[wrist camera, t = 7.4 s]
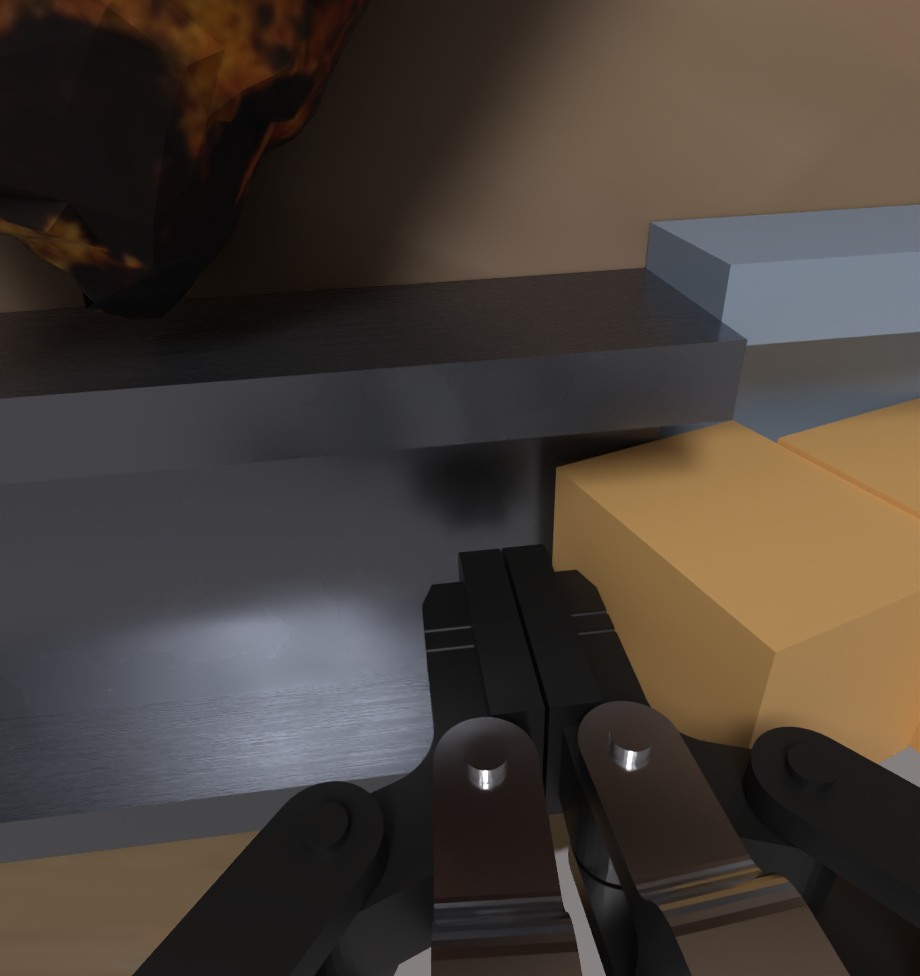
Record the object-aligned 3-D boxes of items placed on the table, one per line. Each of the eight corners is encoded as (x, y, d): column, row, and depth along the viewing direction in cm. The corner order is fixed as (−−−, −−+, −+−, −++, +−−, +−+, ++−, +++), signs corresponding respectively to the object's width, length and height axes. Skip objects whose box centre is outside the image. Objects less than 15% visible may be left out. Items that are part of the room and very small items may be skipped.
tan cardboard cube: (732, 420, 13) (995, 559, 9) (702, 579, 15) (906, 748, 12) (556, 467, 12) (775, 652, 8) (549, 635, 14) (720, 847, 10)
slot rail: (645, 267, 13) (747, 339, 9) (608, 641, 17) (665, 778, 14) (-757, 366, 11) (-1269, 498, 7) (-362, 749, 16) (-563, 935, 12)
